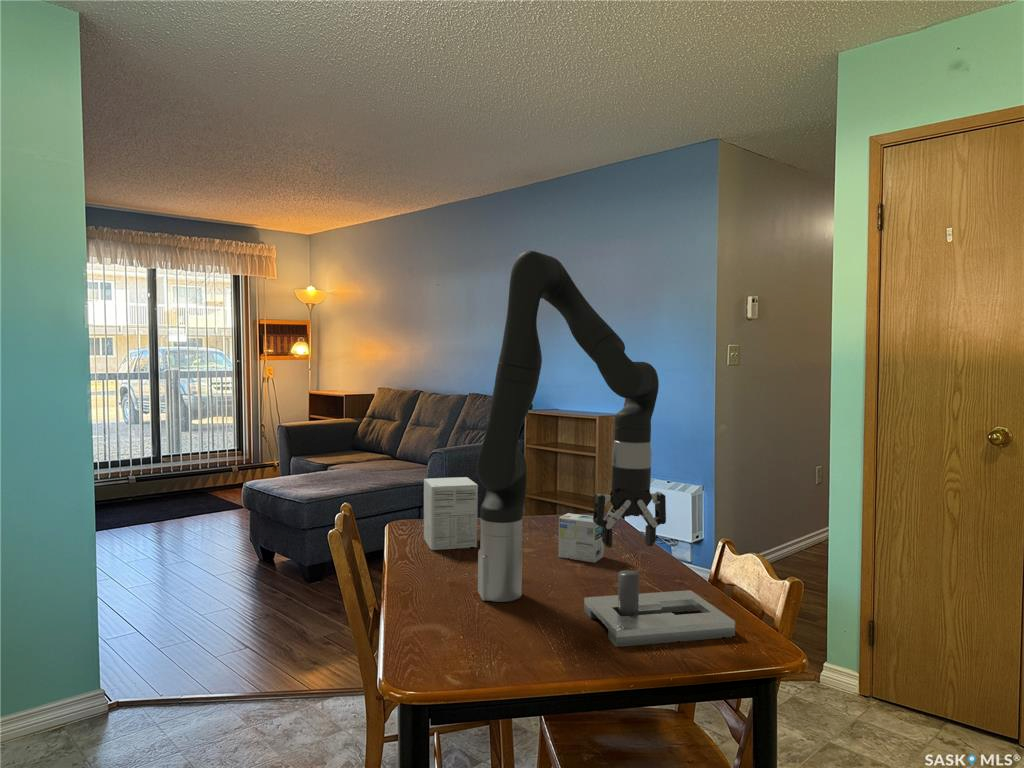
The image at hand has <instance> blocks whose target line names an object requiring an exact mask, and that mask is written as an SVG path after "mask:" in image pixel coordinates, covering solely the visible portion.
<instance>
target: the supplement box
mask: <svg viewBox="0 0 1024 768" xmlns="http://www.w3.org/2000/svg"><path fill="white" fill-rule="evenodd" d="M478 490H479V485H478V484H477V483H476V482H475V481H473V480H472V479H470V478H469V477H467V476H464V477H462V476H461V477H460V476H459V477H436V478H435V477H433V478H423V539H424V541H425V542H426V544H427V545H428V548H430V551H438V550H439V551H441V550H454V549H456V550H458V549H470V547H475V548H478V504H479V503H478V501H479V499H478V498H479V495H478V493H479V491H478ZM457 548H458V549H457Z"/></svg>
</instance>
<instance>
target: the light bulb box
mask: <svg viewBox="0 0 1024 768" xmlns="http://www.w3.org/2000/svg"><path fill="white" fill-rule="evenodd" d="M603 520H604V519H603ZM557 538H558V543H557V544H558V545H557V547H558V549H557V550H558V552H557V553H558V555H557V557H558V558H562V559H568V558H569V560H575V561H581V562H589V563H594V564H595V563H596V562H598V561H600V560H601V559H602V558H604V557H605V544H604V543H603V542H602V526H598V525H597V524H596V523H594V522H593V515H587V514H576V513H570V512H568V513H565V514H563V515H561V516H559V517H558V537H557Z"/></svg>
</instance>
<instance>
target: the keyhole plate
mask: <svg viewBox="0 0 1024 768" xmlns="http://www.w3.org/2000/svg"><path fill="white" fill-rule="evenodd" d="M583 602H584V604H583V605H584V607H583V611H584V613H585V614H586V615H587V617H588V618H589V619H593V620H594V619H595V620H596V619H598V620H599V621H601V623H602V624H603V625H604V626H605V627H606V628H607V630H608V634H607V635H608V637H607V638H608V640H609V641H610V642H611V643H612V644H613V645H614V646H615V647H616V648H619V647H631V646H632V647H633V646H642V645H643V646H644V645H654V644H655V645H656V644H666V643H677V642H678V641H680V642H691V641H700V640H712V639H714V640H715V639H723V638H722V637H726V638H733V637H732V636H736V621H735V620H734V619H733V618H732V617H730V616H728V615H727V614H726V613H724V612H723V611H721V610H720V609H719V608H717V607H716V606H715V605H713V604H712V603H710V602H708V601H707V600H706V599H704V598H703V597H701V596H700V595H699V594H697V593H696V592H694V591H693V590H690V589H689V590H688V589H686V590H674V591H661V592H660V591H659V592H658V591H657V592H648V593H647V592H645V593H644V592H643V593H639V604H638V615H634V616H620V615H619V614H618V594H615V595H602V596H599V595H598V596H588V597H585V596H584V601H583ZM698 610H699V611H700V612H699V613H698V612H697V611H698ZM685 611H687V612H697V613H686V612H685ZM672 612H674V613H672ZM684 612H685V613H684ZM659 613H661V614H659ZM675 613H682V614H675ZM683 613H684V614H683ZM678 643H679V642H678Z"/></svg>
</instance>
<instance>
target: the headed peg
mask: <svg viewBox="0 0 1024 768" xmlns="http://www.w3.org/2000/svg"><path fill="white" fill-rule="evenodd" d="M617 579H618V581H617V587H618V588H617V595H618V614H619V615H620V616H634V615H638V604H639V594H640V573H639V572H638V571H635V570H619V572H618V578H617Z"/></svg>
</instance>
